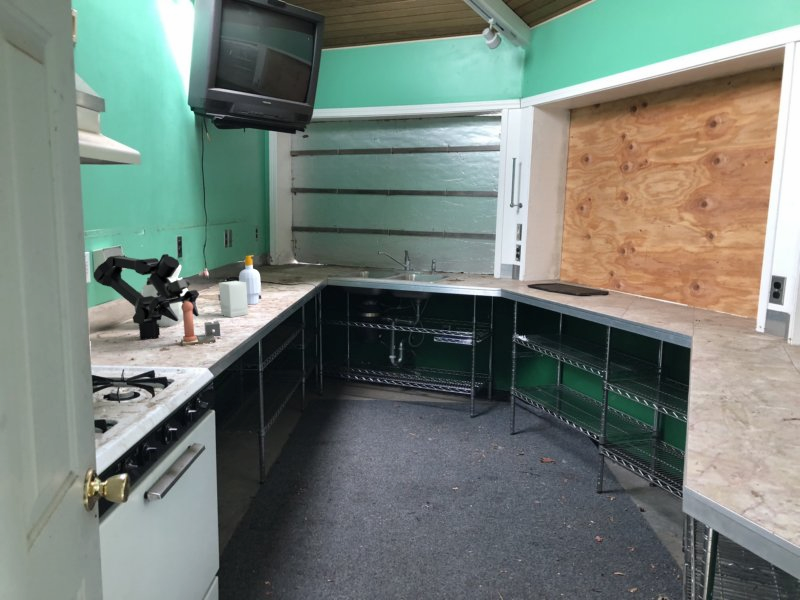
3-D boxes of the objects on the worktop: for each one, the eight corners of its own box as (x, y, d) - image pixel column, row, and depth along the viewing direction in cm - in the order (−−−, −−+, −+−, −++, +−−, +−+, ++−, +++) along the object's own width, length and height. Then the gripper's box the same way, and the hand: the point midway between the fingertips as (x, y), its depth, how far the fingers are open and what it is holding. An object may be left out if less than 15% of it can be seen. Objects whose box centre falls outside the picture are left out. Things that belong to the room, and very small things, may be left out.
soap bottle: (266, 302, 275) (263, 255, 271) (250, 306, 266) (247, 257, 262) (251, 301, 280) (248, 254, 276) (236, 304, 272) (233, 256, 268)
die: (206, 338, 203) (205, 323, 202) (205, 335, 208) (204, 321, 207) (220, 336, 206) (219, 322, 205) (218, 333, 211) (217, 319, 210)
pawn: (182, 342, 194) (179, 302, 191) (184, 339, 198) (181, 300, 195) (195, 341, 195) (192, 302, 192) (196, 338, 199) (194, 300, 196)
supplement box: (249, 314, 246) (246, 282, 244) (231, 317, 240) (228, 284, 237) (238, 312, 252) (236, 280, 250) (220, 315, 246) (218, 282, 243)
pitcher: (182, 328, 220) (176, 267, 215) (136, 329, 220) (130, 268, 215) (198, 319, 238) (194, 262, 234) (156, 319, 238) (151, 263, 234)
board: (182, 346, 192) (182, 343, 192) (181, 341, 199) (180, 338, 198) (215, 342, 197) (215, 339, 196) (213, 338, 203) (212, 335, 203)
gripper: (151, 274, 186) (176, 308, 183) (193, 268, 202) (217, 299, 200) (137, 295, 191) (162, 329, 188) (180, 287, 207) (203, 318, 204)
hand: (187, 318), depth 195 cm, fingers open, 9 cm apart
